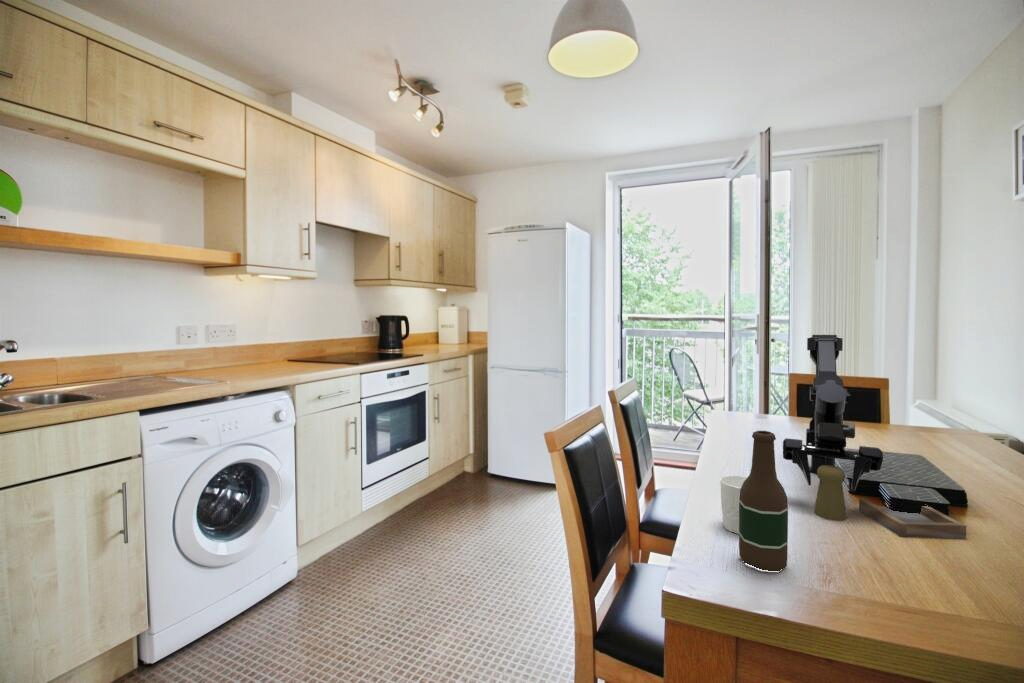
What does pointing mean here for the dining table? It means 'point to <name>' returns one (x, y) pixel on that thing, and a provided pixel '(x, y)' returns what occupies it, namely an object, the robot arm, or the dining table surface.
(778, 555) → the beer bottle
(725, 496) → the white cup
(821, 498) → the cork
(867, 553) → the dining table surface
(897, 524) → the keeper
